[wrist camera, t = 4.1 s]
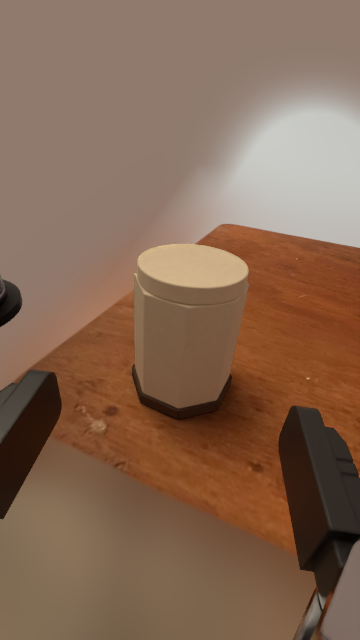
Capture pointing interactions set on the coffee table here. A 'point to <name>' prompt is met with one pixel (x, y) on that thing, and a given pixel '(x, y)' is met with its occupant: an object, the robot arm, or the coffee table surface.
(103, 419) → the coffee table surface
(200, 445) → the coffee table surface
